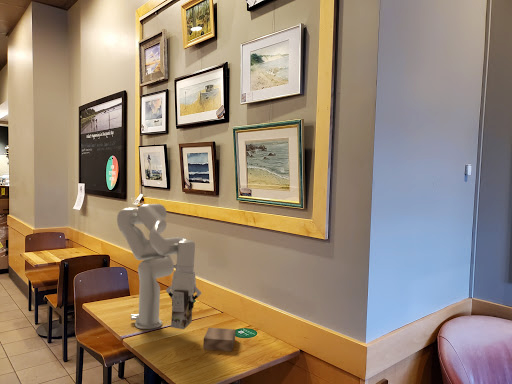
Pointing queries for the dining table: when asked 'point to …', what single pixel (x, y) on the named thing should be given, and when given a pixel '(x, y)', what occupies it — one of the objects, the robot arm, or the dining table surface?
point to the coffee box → (181, 310)
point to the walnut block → (219, 339)
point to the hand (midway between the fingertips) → (182, 308)
